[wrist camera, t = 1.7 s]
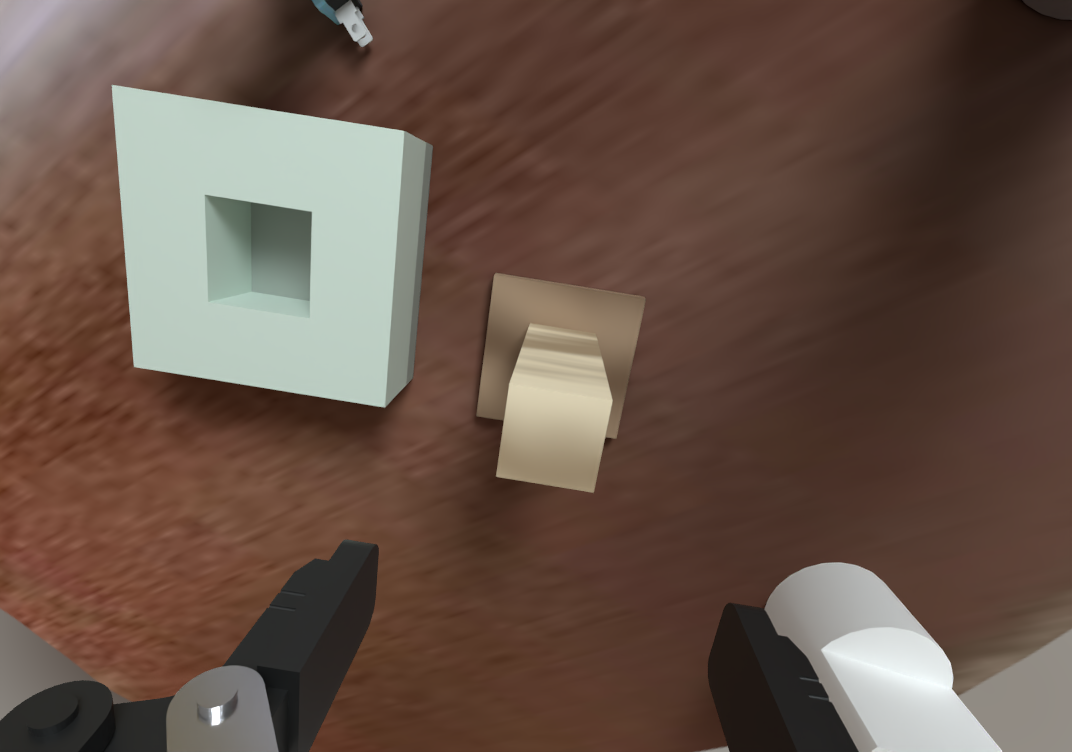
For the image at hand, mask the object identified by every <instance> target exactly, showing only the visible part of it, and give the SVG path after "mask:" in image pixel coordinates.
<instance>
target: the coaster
mask: <svg viewBox="0 0 1072 752" xmlns="http://www.w3.org/2000/svg"><path fill="white" fill-rule="evenodd" d="M645 301H646V299H645V297H644V296H637V295H631V294H625V293H619V292H612V291H606V290H600V289H594V288H587V287H581V286H575V285H569V284H562V283H556V282H550V281H544V280H537V279H531V278H525V277H519V276H512V275H506V274H500V273H496V274H494V280H493V288H492V295H491V303H490V311H489V319H488V327H487V335H486V343H485V351H484V359H483V367H482V375H481V383H480V390H479V398H478V406H477V414H476V416H478V417H485V418H491V419H497V420H503V421H504V417H505V410H506V403H507V396H508V389H509V383H510V380H511V377H512V374H513V371H514V368H515V366H516V363H517V360H518V357H519V354H520V351H521V348H522V345H523V342H524V339H525V336H526V333H527V330H528V327H529V324H530V323H533V324H539V325H546V326H552V327H558V328H564V329H571V330H577V331H583V332H589V333H595V334H596V336H597V340H598V344H599V348H600V352H601V356H602V360H603V364H604V368H605V372H606V376H607V380H608V384H609V388H610V392H611V396H612V400H613V401H612V406H611V411H610V416H609V421H608V426H607V430H606V435H605V437H608V438H614V439H616V437H617V432H618V427H619V423H620V418H621V413H622V409H623V404H624V399H625V395H626V390H627V385H628V381H629V376H630V371H631V367H632V362H633V357H634V353H635V348H636V343H637V339H638V334H639V329H640V324H641V320H642V315H643V310H644V306H645Z"/></svg>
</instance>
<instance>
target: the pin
mask: <svg viewBox="0 0 1072 752" xmlns="http://www.w3.org/2000/svg"><path fill="white" fill-rule="evenodd" d="M612 401H613V400H612V396H611V392H610V388H609V384H608V380H607V376H606V372H605V368H604V364H603V360H602V356H601V352H600V348H599V344H598V340H597V336H596V334H595V333H589V332H583V331H577V330H571V329H564V328H558V327H552V326H546V325H539V324H533V323H530V324H529V327H528V330H527V333H526V336H525V339H524V342H523V345H522V348H521V351H520V354H519V357H518V360H517V363H516V366H515V368H514V371H513V374H512V377H511V380H510V383H509V389H508V396H507V403H506V410H505V417H504V424H503V431H502V438H501V445H500V452H499V459H498V466H497V473H496V477H501V478H507V479H513V480H519V481H525V482H531V483H538V484H544V485H550V486H556V487H562V488H568V489H574V490H580V491H587V492H593V493H594V488H595V484H596V479H597V474H598V469H599V464H600V459H601V455H602V450H603V445H604V440H605V435H606V430H607V426H608V421H609V416H610V411H611V406H612Z"/></svg>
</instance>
